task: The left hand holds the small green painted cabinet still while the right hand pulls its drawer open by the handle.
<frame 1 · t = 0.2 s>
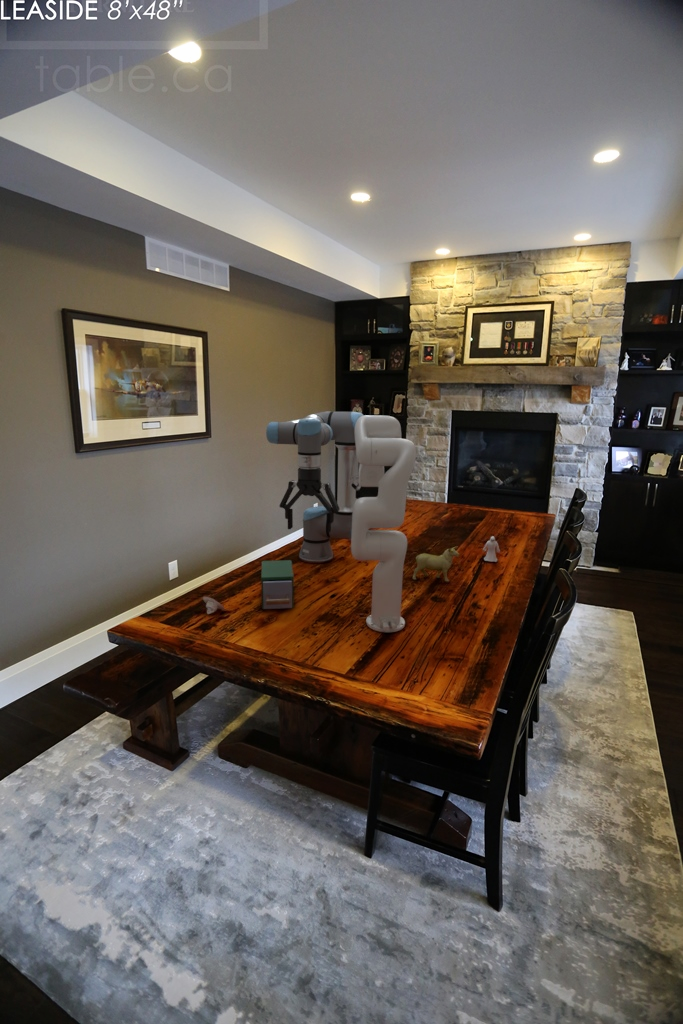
left hand: (309, 530, 168), 28 cm above the table, tool pointing down, fingers open, 13 cm apart
right hand: (370, 500, 199), 31 cm above the table, tool pointing down, fingers open, 9 cm apart
figurine: (490, 560, 225), on the table
toy: (434, 580, 201), on the table
seashell: (213, 612, 169), on the table
drawer: (277, 590, 173), point 6 cm above the table, slide at 1.1 cm
cabinet: (277, 598, 181), on the table
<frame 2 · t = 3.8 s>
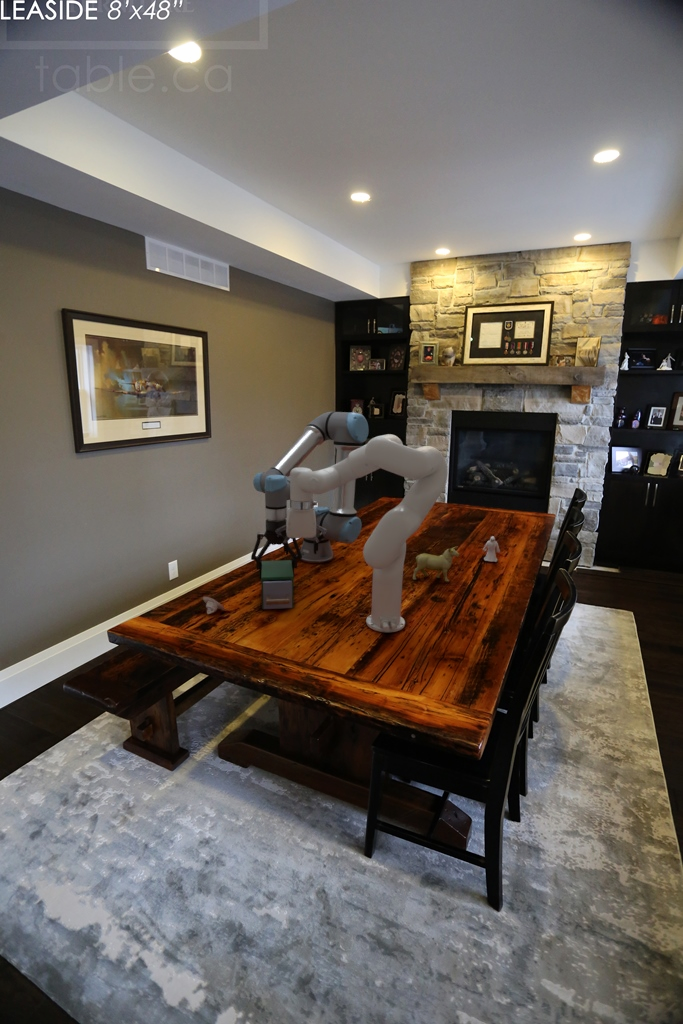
left hand: (277, 577, 183), 7 cm above the table, tool pointing down, fingers closed on cabinet, 11 cm apart
right hand: (301, 553, 172), 19 cm above the table, tool pointing down, fingers open, 9 cm apart
cabinet: (277, 598, 181), on the table, touching left hand
everything else where it was.
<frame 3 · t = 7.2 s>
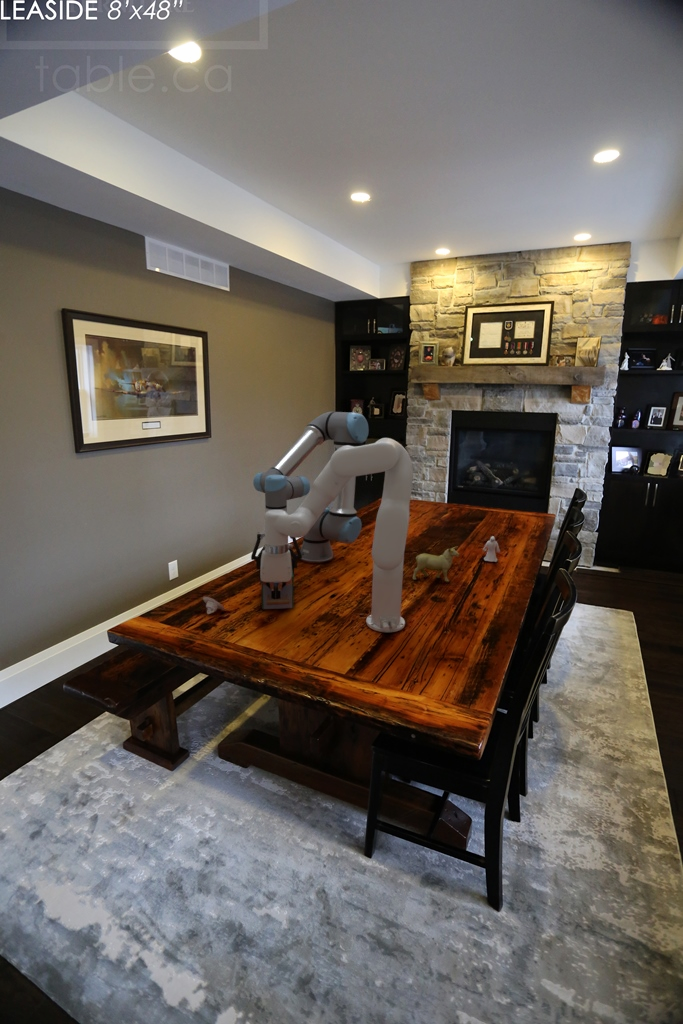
left hand: (277, 576, 183), 7 cm above the table, tool pointing down, fingers closed on cabinet, 11 cm apart
right hand: (275, 600, 166), 5 cm above the table, tool pointing down, fingers closed
cabinet: (277, 598, 181), on the table, touching left hand
everything else where it was.
when the left hand's fingers open (7 cm above the table, at t = 10.4 s): cabinet stays where it is, on the table.
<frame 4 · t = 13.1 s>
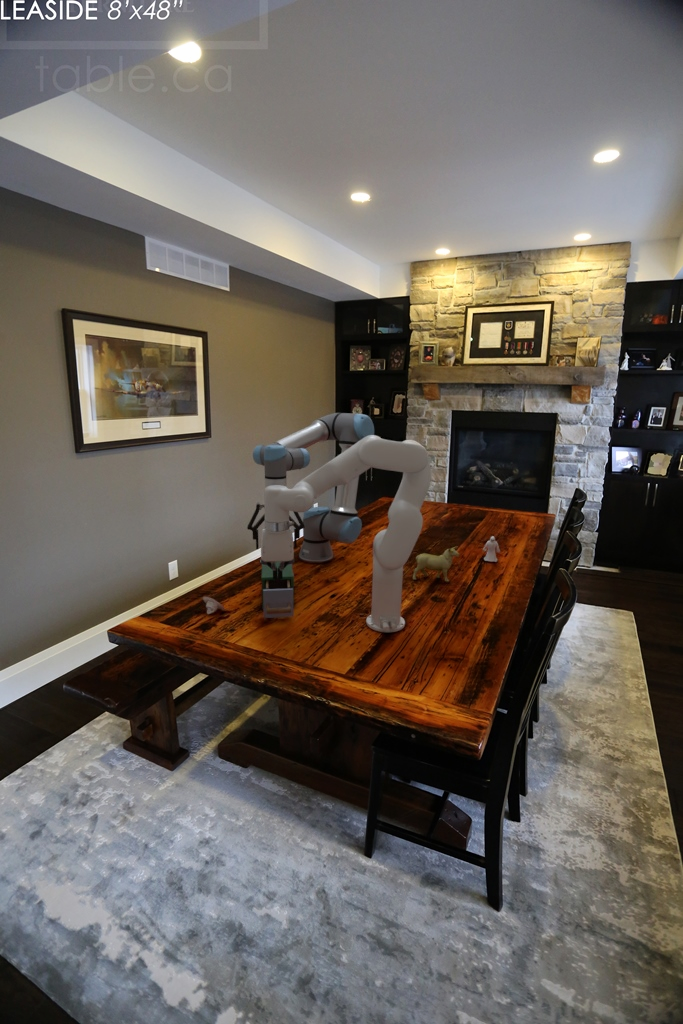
left hand: (276, 547, 180), 18 cm above the table, tool pointing down, fingers open, 13 cm apart
right hand: (277, 581, 159), 15 cm above the table, tool pointing down, fingers closed
drawer: (278, 598, 167), point 6 cm above the table, slide at 7.8 cm
cabinet: (277, 598, 180), on the table
everything else where it was.
at the end: drawer slide at 7.8 cm; cabinet tilted 0°; cabinet never tilted more than 1° during the clip; cabinet moved 0.1 cm from its start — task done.
